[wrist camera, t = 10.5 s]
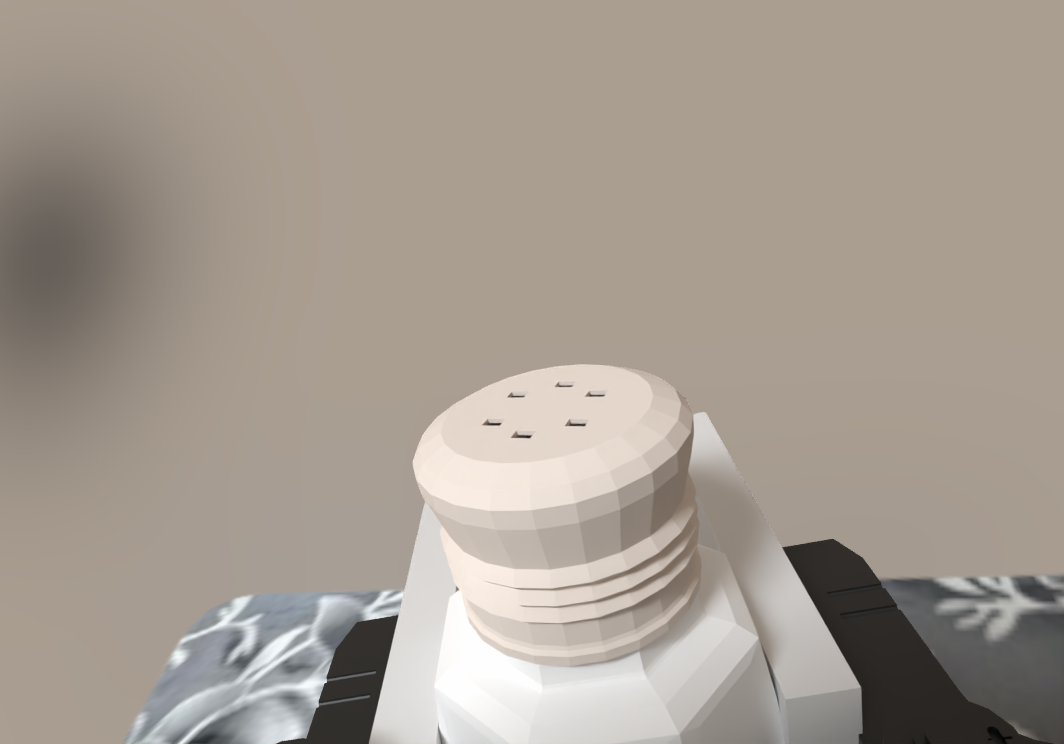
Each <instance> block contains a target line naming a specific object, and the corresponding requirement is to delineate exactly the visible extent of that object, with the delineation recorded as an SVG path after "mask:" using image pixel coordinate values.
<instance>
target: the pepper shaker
mask: <svg viewBox="0 0 1064 744" xmlns="http://www.w3.org/2000/svg"><path fill="white" fill-rule="evenodd" d="M693 437H694V422H693V413H692V411H691V409H690V407H689V405H688V402H687V401H686V398H684V397H683V396H682V395H681V394H680V393H679V392H678V391H677V390H675V389H674V388H673V387H672V386H670V385H669V384H668V383H667V382H665V381H664V380H663V379H661V378H659V377H657V376H654V375H651V374H649V373H646V372H644V371H641V370H636V369H630V368H624V367H618V366H607V365H568V366H556V367H551V368H545V369H540V370H534V371H530V372H527V373H523V374H520V375H516V376H512V377H509V378H506V379H504V380H501V381H499V382H496V383H494V384H491V385H489V386H486V387H485V388H483V389H481V390H479V391H477V392H475V393H473V394H472V395H470V396H468V397H466V398H464V399H462V400H461V401H459V402H457V403H455V404H454V405H452V406H451V407H450V408H449V409H448V410H446V411H445V412H444V413H442V414H441V415H439V416H438V417H437V418H436V419H435V420H434V421H433V423H432V424H431V425H430V426H429V428H428V429H427V430H426V431H425V432H424V434H423V436H422V438H421V441H420V443H419V445H418V448H417V451H416V454H415V457H414V460H413V467H414V472H415V476H416V480H417V483H418V486H419V488H420V491H421V494H422V496H423V498H424V500H425V501H426V503H427V504H428V505H429V507H430V508H431V510H432V511H433V513H434V514H435V516H436V517H437V519H438V520H439V522H440V523H441V529H440V536H441V540H442V544H443V548H444V552H445V553H446V557H447V561H448V565H449V568H450V569H451V573H452V577H453V581H454V583H455V585H456V586H457V587H458V588H459V590H458V591H457V592H455V593H454V594H453V595H451V596H450V597H449V602H448V608H447V614H446V620H445V626H444V632H443V638H442V644H441V650H440V655H439V661H438V667H437V673H436V679H435V685H434V688H435V696H436V704H437V713H438V721H439V729H440V737H441V741H442V744H784V737H783V730H782V722H781V714H780V710H779V706H778V701H777V697H776V693H775V690H774V687H773V683H772V680H771V677H770V673H769V670H768V667H767V663H766V660H765V657H764V653H763V650H762V647H761V643H760V640H759V636H758V633H757V629H756V627H755V624H754V622H753V619H752V617H751V615H750V612H749V610H748V607H747V605H746V602H745V600H744V597H743V595H742V592H741V590H740V587H739V585H738V582H737V580H736V577H735V575H734V573H733V570H732V568H731V566H730V564H729V562H728V559H727V557H726V555H725V553H722V552H719V551H717V550H714V549H711V548H708V547H706V546H703V545H700V544H698V537H699V526H700V522H699V520H698V517H697V512H698V506H697V503H696V501H695V496H696V489H695V486H694V484H693V481H692V479H691V476H690V474H689V472H688V469H689V463H690V458H691V453H692V445H693Z"/></svg>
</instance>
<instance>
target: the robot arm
mask: <svg viewBox="0 0 1064 744" xmlns="http://www.w3.org/2000/svg"><path fill="white" fill-rule="evenodd" d="M693 422H694V437H693V445H692V453H691V458H690V463H689V469H688V472H689V474H690V476H691V479H692V481H693V484H694V486H695V489H696V496H695V501H696V503H697V506H698V512H697V517H698V520H699V522H700V526H699V537H698V544H700V545H703V546H706V547H708V548H711V549H714V550H717V551H719V552H722V553H725V555H726V557H727V559H728V562H729V564H730V566H731V568H732V570H733V573H734V575H735V577H736V580H737V582H738V585H739V587H740V590H741V592H742V595H743V597H744V600H745V602H746V605H747V607H748V610H749V612H750V615H751V617H752V619H753V622H754V624H755V627H756V629H757V633H758V636H759V640H760V643H761V647H762V650H763V653H764V657H765V660H766V663H767V667H768V670H769V673H770V677H771V680H772V683H773V687H774V690H775V693H776V697H777V701H778V706H779V710H780V714H781V722H782V730H783V737H784V744H1052V743H1047V742H1042V741H1037V740H1034V739H1031V738H1029V737H1026V736H1023V735H1020V734H1018V732H1017V731H1016V730H1015V729H1014V727H1013V726H1011V725H1010V724H1009V723H1007V722H1006V721H1004V720H1003V719H1002V718H1000V717H999V716H997V715H996V714H995V713H993V712H992V711H990V710H989V709H987V708H984V707H982V706H979V705H977V704H974V703H972V702H969V701H968V700H967V699H966V698H965V697H964V696H963V695H962V694H961V692H960V691H959V690H958V688H957V687H956V686H955V684H954V683H953V681H952V680H951V679H950V677H949V676H948V675H947V673H946V672H945V670H944V669H943V668H942V666H941V665H940V664H939V662H938V661H937V659H936V658H935V657H934V655H933V654H932V653H931V651H930V650H929V648H928V647H927V646H926V644H925V643H924V642H923V640H922V639H921V637H920V636H919V635H918V633H917V632H916V630H915V629H914V628H913V626H912V625H911V624H910V622H909V621H908V619H907V618H906V617H905V615H904V614H903V613H902V611H901V610H898V608H897V604H896V603H895V602H894V600H893V599H892V597H891V596H890V595H889V593H888V592H887V591H886V589H885V588H882V585H881V582H880V581H879V580H878V578H877V577H876V575H875V574H874V573H873V571H872V570H871V568H870V567H869V566H868V564H867V563H866V562H865V560H864V559H863V558H862V557H861V556H859V555H857V554H856V553H854V552H853V551H851V550H850V549H848V548H847V547H845V546H843V545H842V544H840V543H839V542H837V541H836V540H834V539H829V540H824V541H817V542H812V543H806V544H800V545H794V546H788V547H781V545H780V543H779V542H778V540H777V538H776V536H775V534H774V533H773V531H772V529H771V527H770V526H769V524H768V522H767V520H766V519H765V517H764V515H763V513H762V512H761V510H760V508H759V506H758V504H757V503H756V501H755V499H754V497H753V496H752V494H751V492H750V490H749V489H748V487H747V485H746V484H745V481H744V480H743V478H742V476H741V474H740V473H739V471H738V469H737V467H736V466H735V464H734V462H733V460H732V458H731V457H730V455H729V453H728V451H727V450H726V448H725V446H724V444H723V443H722V441H721V439H720V437H719V436H718V434H717V432H716V430H715V428H714V427H713V425H712V423H711V421H710V420H709V418H708V416H707V414H706V413H705V412H702V413H697V414H693ZM440 529H441V523H440V522H439V520H438V519H437V517H436V516H435V514H434V513H433V511H432V510H431V508H430V507H429V505H428V504H427V503H426V501H425V504H424V509H423V513H422V517H421V522H420V526H419V530H418V534H417V539H416V543H415V547H414V552H413V556H412V560H411V564H410V569H409V573H408V577H407V582H406V587H405V590H404V594H403V599H402V603H401V607H400V612H399V615H396V616H391V617H385V618H379V619H373V620H367V621H361V622H357V623H356V624H355V626H354V627H353V628H352V629H351V631H350V632H349V633H348V634H347V636H346V637H345V638H344V639H343V641H342V642H341V643H340V645H339V646H338V647H337V648H336V650H335V654H334V657H333V660H332V663H331V666H330V669H329V672H328V675H327V683H325V684H324V687H323V690H322V693H321V696H320V699H319V708H316V711H315V714H314V717H313V720H312V723H311V726H310V729H309V732H308V735H307V738H306V739H304V738H301V739H295V740H288V741H281V742H279V743H277V744H442V741H441V737H440V729H439V721H438V713H437V704H436V696H435V688H434V685H435V679H436V673H437V667H438V661H439V655H440V650H441V644H442V638H443V632H444V626H445V620H446V614H447V608H448V602H449V597H450V596H451V595H453V594H454V593H455V592H457V591H458V590H459V588H458V587H457V586H456V585H455V583H454V581H453V577H452V573H451V569H450V568H449V565H448V561H447V557H446V553H445V552H444V548H443V544H442V540H441V536H440Z"/></svg>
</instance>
